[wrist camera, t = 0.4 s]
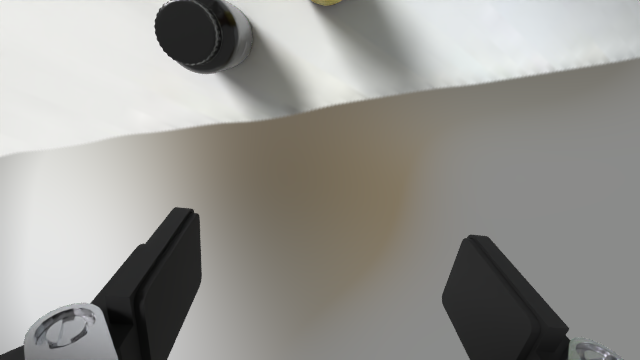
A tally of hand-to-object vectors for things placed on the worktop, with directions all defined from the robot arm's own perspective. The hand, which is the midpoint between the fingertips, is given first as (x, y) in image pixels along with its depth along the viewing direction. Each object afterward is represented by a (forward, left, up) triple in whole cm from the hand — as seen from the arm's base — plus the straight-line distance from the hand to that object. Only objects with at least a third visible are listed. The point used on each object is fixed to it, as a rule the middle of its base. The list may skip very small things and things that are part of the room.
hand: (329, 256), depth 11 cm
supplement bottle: (-5, -12, -31) cm, 33 cm away
